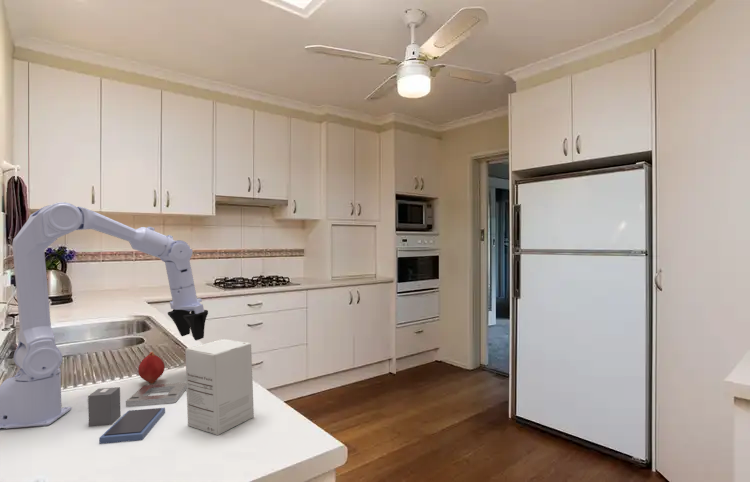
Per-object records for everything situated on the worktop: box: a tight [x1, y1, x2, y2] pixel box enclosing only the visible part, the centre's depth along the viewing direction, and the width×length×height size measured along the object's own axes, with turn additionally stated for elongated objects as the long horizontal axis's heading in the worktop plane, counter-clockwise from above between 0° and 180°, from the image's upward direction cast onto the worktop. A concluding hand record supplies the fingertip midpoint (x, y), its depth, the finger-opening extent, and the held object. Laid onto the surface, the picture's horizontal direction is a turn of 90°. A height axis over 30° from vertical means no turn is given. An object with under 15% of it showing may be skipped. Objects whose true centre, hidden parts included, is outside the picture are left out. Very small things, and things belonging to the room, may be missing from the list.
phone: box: [98, 407, 166, 445], centre depth 80 cm, size 7×12×2 cm, turn 9°
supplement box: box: [184, 338, 255, 436], centre depth 81 cm, size 9×9×15 cm
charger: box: [87, 386, 122, 428], centre depth 82 cm, size 4×4×6 cm
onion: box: [137, 351, 165, 385], centre depth 104 cm, size 6×6×8 cm
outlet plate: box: [125, 381, 187, 408], centre depth 95 cm, size 10×10×1 cm
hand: (192, 336), depth 108 cm, fingers open, 7 cm apart
